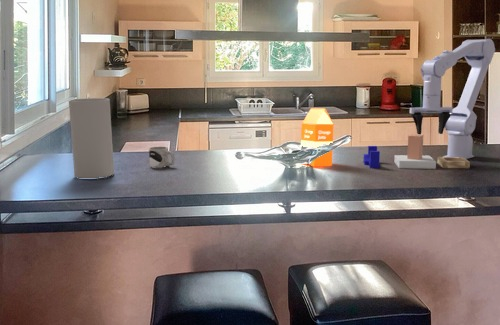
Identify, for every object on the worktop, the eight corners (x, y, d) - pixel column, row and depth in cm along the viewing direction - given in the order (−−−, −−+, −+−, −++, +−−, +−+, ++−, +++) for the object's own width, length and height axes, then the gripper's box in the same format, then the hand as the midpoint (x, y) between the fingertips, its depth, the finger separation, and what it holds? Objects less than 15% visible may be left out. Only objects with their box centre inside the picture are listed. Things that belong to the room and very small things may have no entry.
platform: (428, 162, 192) (429, 155, 191) (435, 168, 181) (436, 161, 180) (394, 162, 193) (394, 155, 193) (399, 168, 182) (399, 161, 182)
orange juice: (313, 166, 184) (316, 108, 182) (299, 163, 192) (301, 107, 190) (332, 165, 188) (334, 108, 186) (317, 163, 196) (319, 108, 194)
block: (422, 157, 187) (423, 135, 185) (418, 159, 183) (420, 136, 182) (410, 156, 189) (411, 134, 187) (407, 158, 186) (408, 135, 184)
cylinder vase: (72, 174, 179) (67, 99, 175) (111, 170, 184) (106, 97, 179) (76, 182, 168) (70, 101, 163) (117, 178, 173) (112, 100, 168)
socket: (462, 163, 189) (462, 157, 189) (469, 168, 181) (469, 161, 180) (437, 163, 190) (437, 156, 190) (443, 167, 182) (443, 161, 181)
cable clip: (363, 162, 195) (364, 145, 193) (376, 162, 194) (376, 146, 193) (365, 168, 183) (366, 151, 182) (379, 169, 182) (379, 151, 181)
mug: (145, 167, 189) (145, 148, 188) (157, 164, 195) (156, 146, 194) (169, 169, 185) (168, 150, 184) (180, 166, 191) (179, 147, 189)
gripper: (447, 93, 190) (445, 131, 193) (407, 94, 190) (405, 132, 192) (456, 95, 183) (453, 134, 186) (414, 95, 183) (412, 135, 185)
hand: (429, 133), depth 189 cm, fingers open, 7 cm apart
